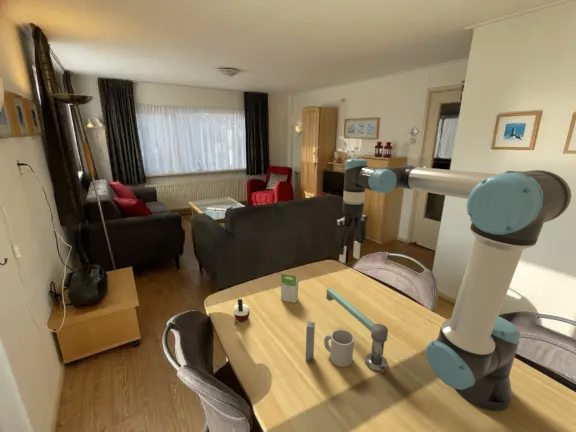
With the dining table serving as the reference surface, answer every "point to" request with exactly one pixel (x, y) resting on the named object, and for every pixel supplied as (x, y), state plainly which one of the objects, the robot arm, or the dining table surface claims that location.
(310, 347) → the post
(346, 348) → the cup
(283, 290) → the ink box
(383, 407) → the dining table surface
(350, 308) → the bar
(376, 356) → the grey flanged post
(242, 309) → the cocoa
